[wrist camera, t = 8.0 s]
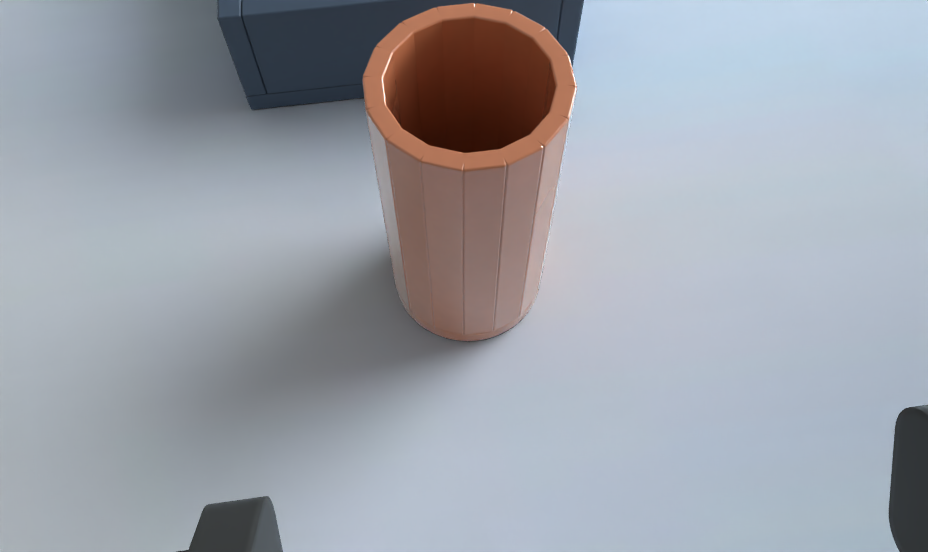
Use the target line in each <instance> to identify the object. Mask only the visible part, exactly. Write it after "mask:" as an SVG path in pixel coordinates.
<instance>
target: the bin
mask: <svg viewBox="0 0 928 552" xmlns="http://www.w3.org/2000/svg"><path fill="white" fill-rule="evenodd" d="M467 3H474V4H476V3H479V4H485V5H490V6H495V7H500V8H505V9H511V10H512V11H516V12H518V13H520V14H522V15H523V16H525V17H527V18H529V19H531V20H533V21H534V22H536V23H538V24H540V25H542V26H543V27H545V29H547V30H548V31H549V32H550V33H551V34H552V35H553V37H554V38H555V39H556V40H557V41H558V43H559V44H560V45H561V46H562V47H563V49H564V50H565V51H566V52H567V54H568V56H569V57H570V61H571V65H572V67H573V60H574V54H575V49H576V43H577V37H578V31H579V26H580V20H581V14H582V8H583V3H584V0H218V21H219V24H220V27H221V29H222V32H223V35H224V38H225V40H226V43H227V46H228V48H229V51H230V54H231V56H232V59H233V62H234V65H235V67H236V70H237V73H238V75H239V78H240V81H241V84H242V86H243V89H244V92H245V94H246V98H247V100H248V103H249V106H250V108H251V109H252V110H253V109H263V108H272V107H281V106H290V105H299V104H308V103H317V102H327V101H336V100H345V99H354V98H363V97H364V92H363V83H362V79H363V74H364V72H365V69H366V67H367V64H368V62H369V59H370V57H371V55H372V52H373V50H374V48H375V47H376V45H377V44H378V43H379V42H380V41H381V40H382V39H383V38H384V37H385V36H386V35H387V34H388V33H389V32H390V31H392V30H393V29H394V28H395V27H396V26H397V25H398V24H399V23H402V21H404V20H406V19H408V18H411V17H413V16H415V15H418V14H420V13H422V12H425V11H427V10H429V9H432V8H437V7H438V6H447V5H457V4H467Z"/></svg>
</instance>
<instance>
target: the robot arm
mask: <svg viewBox="0 0 928 552" xmlns="http://www.w3.org/2000/svg"><path fill="white" fill-rule="evenodd" d="M889 523H890V528H891V532H892V535H893V538H894V541H895V543H896V545H897V548H898V550H899V551H900V552H928V405H923V406H916V407H909V408H906V409H904V410H902V412H901V413H900V414H899V416H898V418H897V421H896V425H895V435H894V448H893V461H892V474H891V487H890V501H889ZM178 552H283V550H282V545H281V540H280V535H279V530H278V525H277V520H276V515H275V511H274V507H273V504H272V501H271V500H270V498H269V497H268V496H265V497H258V498H251V499H243V500H236V501H229V502H222V503H215V504H208V505H206V506H205V507H204V509H203V511H202V514H201V517H200V519H199V522H198V525H197V528H196V531H195V533H194V536H193V539H192V542H191V544H190V547H189V550H185V551H178Z"/></svg>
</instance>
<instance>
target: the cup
mask: <svg viewBox="0 0 928 552" xmlns="http://www.w3.org/2000/svg"><path fill="white" fill-rule="evenodd" d="M362 83H363V92H364V102H365V111H366V116H367V122H368V128H369V134H370V140H371V146H372V151H373V157H374V163H375V169H376V175H377V181H378V186H379V192H380V198H381V204H382V210H383V216H384V221H385V227H386V233H387V239H388V245H389V251H390V257H391V262H392V268H393V274H394V280H395V286H396V288H397V292H398V295H399V298H400V300H401V302H402V304H403V306H404V308H405V309H406V311H407V312H408V313H409V315H410V316H411V317H412V318H413V319H414V320H415V321H416V322H417V323H418V324H420V325H421V326H422V327H423V328H425V329H427V330H428V331H430V332H432V333H434V334H436V335H439V336H441V337H445V338H448V339H453V340H458V341H478V340H483V339H488V338H491V337H494V336H497V335H500V334H502V333H504V332H506V331H508V330H509V329H511V328H512V327H514V326H515V325H516V324H517V323H519V322H520V321H521V320H522V319H523V318H524V317H525V316H526V314H527V313H528V312H529V310H530V309H531V307H532V306H533V304H534V302H535V300H536V297H537V294H538V291H539V286H540V281H541V277H542V273H543V268H544V262H545V257H546V252H547V246H548V241H549V236H550V230H551V225H552V220H553V214H554V209H555V204H556V199H557V193H558V188H559V183H560V177H561V172H562V167H563V161H564V156H565V151H566V145H567V140H568V135H569V129H570V124H571V119H572V113H573V108H574V103H575V97H576V92H577V84H576V80H575V76H574V73H573V69H572V65H571V61H570V57H569V56H568V54H567V52H566V51H565V50H564V49H563V47H562V46H561V45H560V44H559V43H558V41H557V40H556V39H555V38H554V37H553V35H552V34H551V33H550V32H549V31H548V30H547V29H545V27H543V26H542V25H540V24H538V23H536V22H534V21H533V20H531V19H529V18H527V17H525V16H523V15H522V14H520V13H518V12H516V11H512V10H511V9H505V8H500V7H495V6H490V5H485V4H479V3H476V4H474V3H467V4H457V5H447V6H438V7H437V8H432V9H429V10H427V11H425V12H422V13H420V14H418V15H415V16H413V17H411V18H408V19H406V20H404V21H402V23H399V24H398V25H397V26H396V27H395V28H394V29H393V30H392V31H390V32H389V33H388V34H387V35H386V36H385V37H384V38H383V39H382V40H381V41H380V42H379V43H378V44H377V45H376V47H375V48H374V50H373V52H372V55H371V57H370V59H369V62H368V64H367V67H366V69H365V72H364V74H363V79H362Z"/></svg>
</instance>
